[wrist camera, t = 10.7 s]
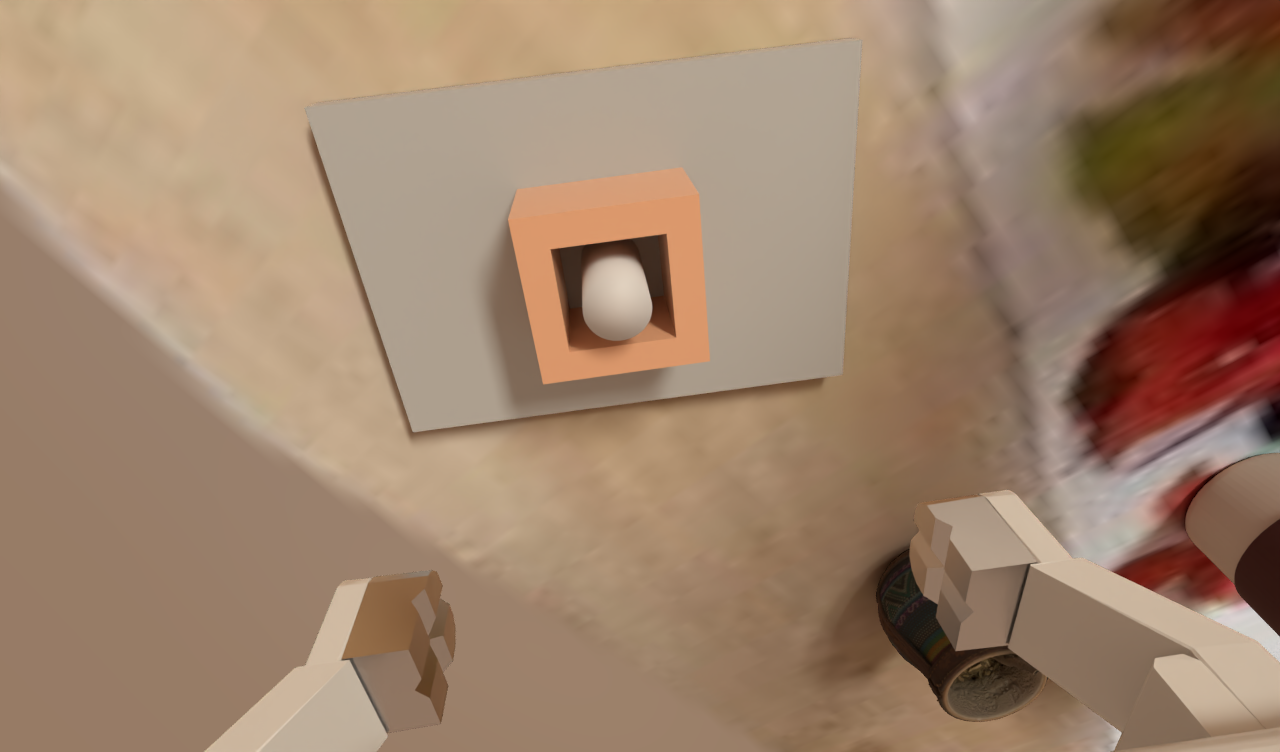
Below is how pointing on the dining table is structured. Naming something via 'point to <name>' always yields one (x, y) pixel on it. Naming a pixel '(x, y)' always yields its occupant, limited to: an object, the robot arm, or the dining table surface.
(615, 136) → the peg board
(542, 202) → the collar
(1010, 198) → the dining table surface
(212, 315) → the dining table surface
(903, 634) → the mate gourd
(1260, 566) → the coffee cup
